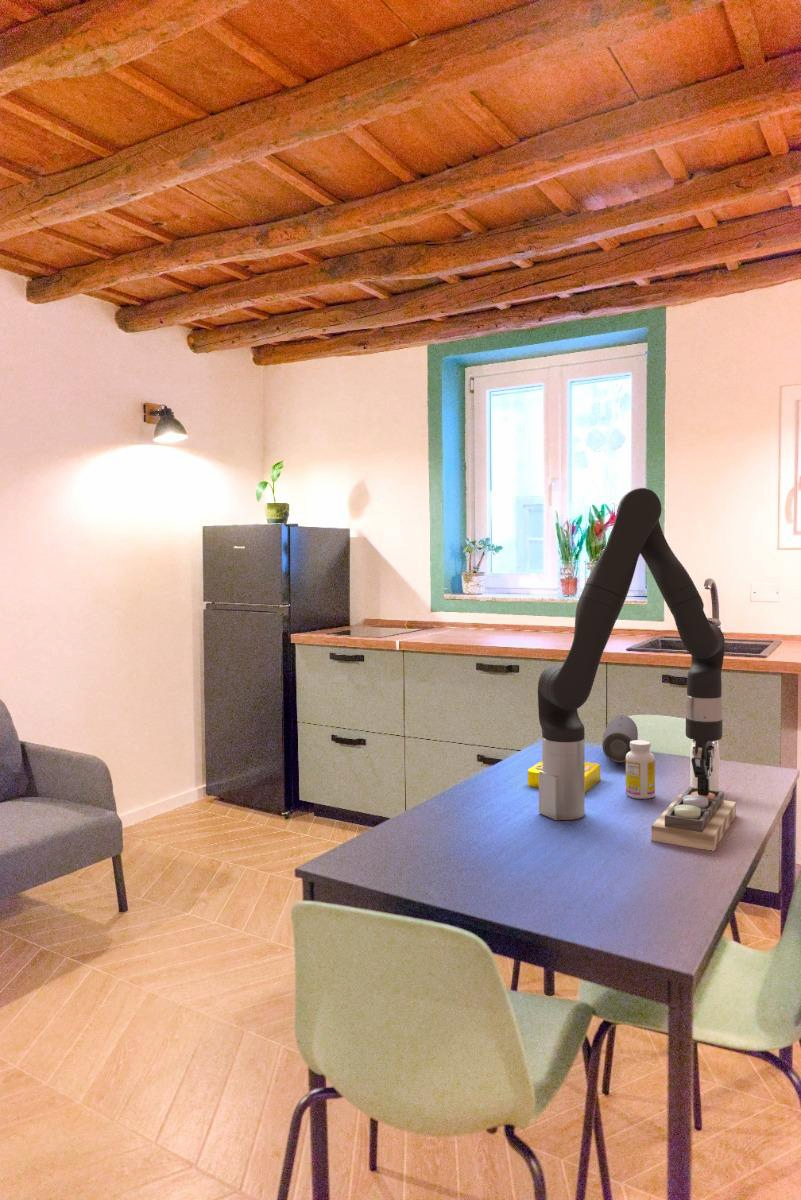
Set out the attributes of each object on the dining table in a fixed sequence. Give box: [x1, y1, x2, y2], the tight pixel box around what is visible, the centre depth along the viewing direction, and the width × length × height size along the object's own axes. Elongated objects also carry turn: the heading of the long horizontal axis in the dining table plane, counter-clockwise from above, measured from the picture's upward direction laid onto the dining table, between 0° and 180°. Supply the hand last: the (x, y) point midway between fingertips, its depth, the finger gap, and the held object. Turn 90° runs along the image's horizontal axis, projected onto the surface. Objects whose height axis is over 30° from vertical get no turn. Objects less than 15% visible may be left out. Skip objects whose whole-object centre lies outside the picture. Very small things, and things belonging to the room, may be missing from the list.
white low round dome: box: [683, 795, 708, 809], centre depth 173 cm, size 5×5×2 cm
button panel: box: [650, 786, 737, 852], centre depth 173 cm, size 24×12×5 cm, turn 148°
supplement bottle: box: [625, 739, 656, 800], centre depth 195 cm, size 7×7×13 cm
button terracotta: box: [691, 791, 715, 799], centre depth 179 cm, size 5×5×2 cm
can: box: [689, 739, 720, 791], centre depth 198 cm, size 6×6×12 cm
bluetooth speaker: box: [601, 715, 639, 763], centre depth 230 cm, size 23×9×10 cm, turn 162°
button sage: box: [674, 805, 701, 820], centre depth 166 cm, size 5×5×2 cm
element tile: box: [527, 760, 601, 793], centre depth 207 cm, size 15×15×5 cm
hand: (703, 794), depth 179 cm, fingers closed
